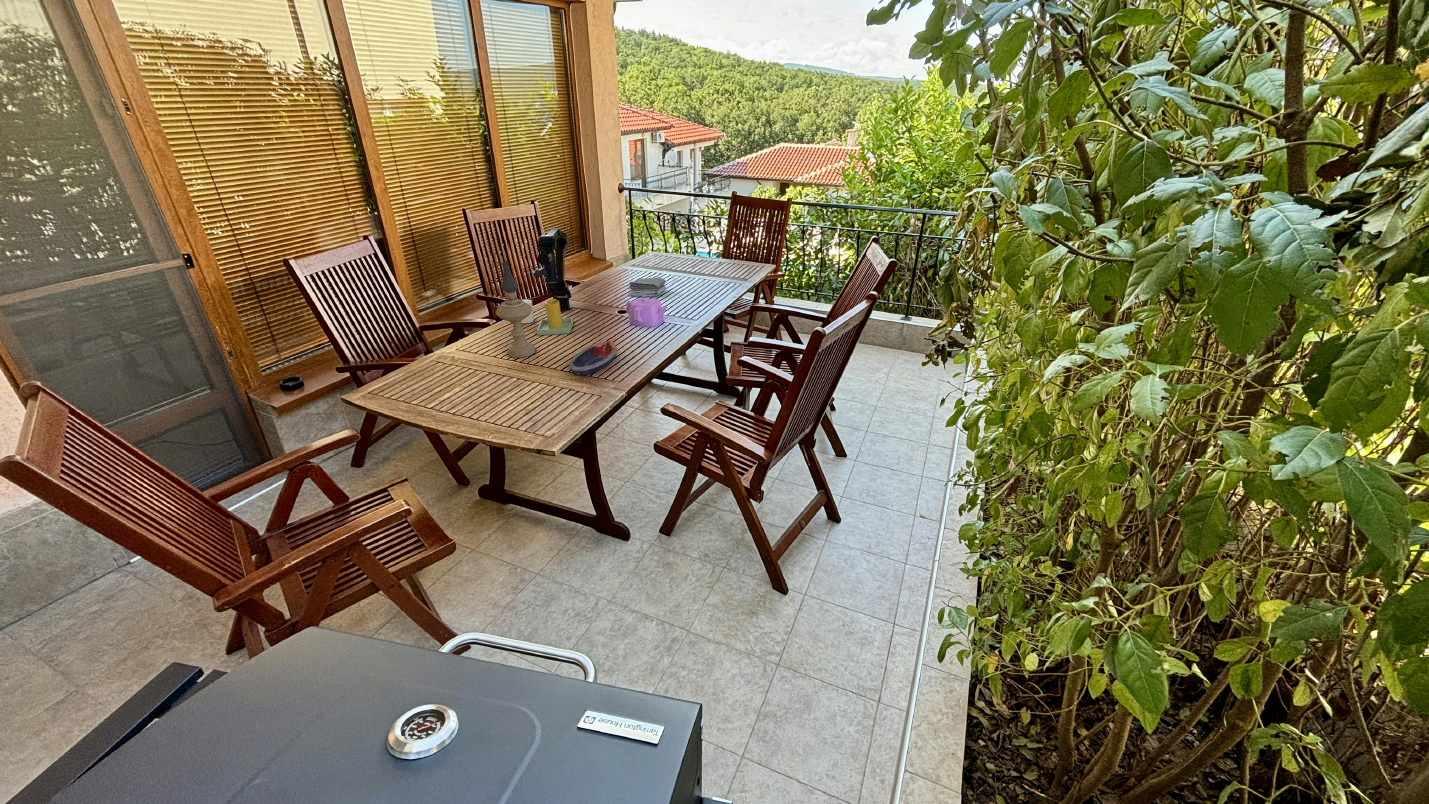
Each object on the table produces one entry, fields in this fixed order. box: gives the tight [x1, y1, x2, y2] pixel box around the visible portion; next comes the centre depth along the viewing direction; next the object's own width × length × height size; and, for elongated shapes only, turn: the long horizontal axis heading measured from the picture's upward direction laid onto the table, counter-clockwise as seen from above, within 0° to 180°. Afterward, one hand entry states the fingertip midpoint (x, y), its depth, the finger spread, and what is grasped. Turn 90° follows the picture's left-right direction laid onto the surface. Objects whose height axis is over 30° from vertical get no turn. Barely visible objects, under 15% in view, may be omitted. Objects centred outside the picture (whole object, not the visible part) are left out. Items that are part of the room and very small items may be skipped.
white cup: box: [521, 299, 535, 324], centre depth 297 cm, size 8×8×10 cm
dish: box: [568, 340, 618, 376], centre depth 248 cm, size 16×31×5 cm, turn 160°
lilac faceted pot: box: [625, 297, 668, 328], centre depth 291 cm, size 17×17×12 cm
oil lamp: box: [495, 260, 536, 358], centre depth 253 cm, size 15×15×40 cm
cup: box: [544, 299, 563, 329], centre depth 285 cm, size 7×7×13 cm
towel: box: [628, 277, 667, 298], centre depth 336 cm, size 15×18×8 cm
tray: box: [536, 317, 574, 336], centre depth 288 cm, size 15×15×2 cm
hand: (553, 294), depth 295 cm, fingers open, 9 cm apart
